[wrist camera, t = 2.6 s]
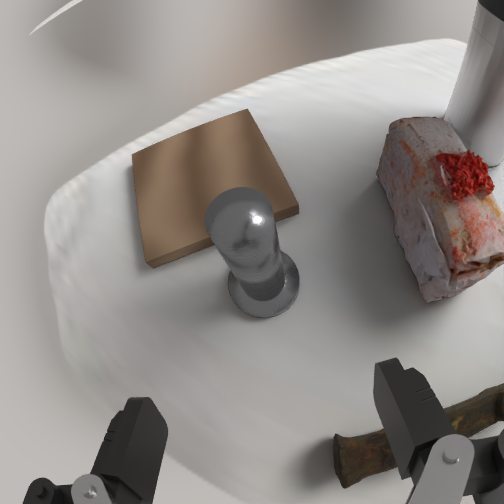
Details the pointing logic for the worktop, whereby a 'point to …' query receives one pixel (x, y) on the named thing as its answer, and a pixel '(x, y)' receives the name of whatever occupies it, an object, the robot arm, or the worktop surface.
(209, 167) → the walnut board
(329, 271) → the worktop surface
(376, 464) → the hand tool
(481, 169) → the food item
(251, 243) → the round metal knob
